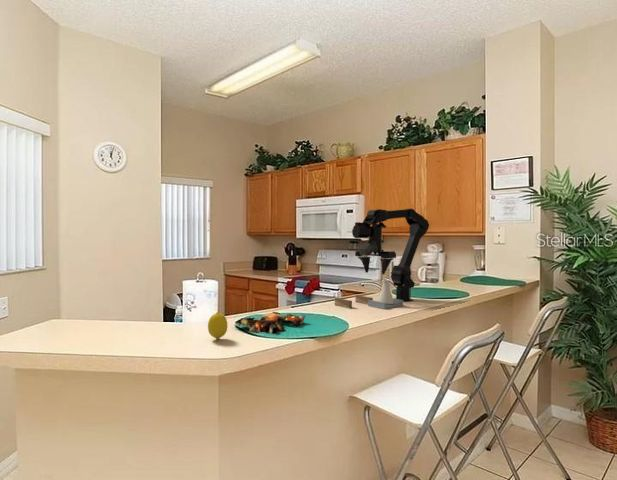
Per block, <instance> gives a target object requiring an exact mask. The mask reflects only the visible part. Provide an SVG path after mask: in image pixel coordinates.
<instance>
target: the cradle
mask: <svg viewBox="0 0 617 480" xmlns="http://www.w3.org/2000/svg"><path fill="white" fill-rule="evenodd" d="M392 298H393V297H392ZM393 300H394V304H389V305H386V303H384V302H379V301H378V300H368V305H367V306H368V307H372V308H376V309H382V310H388V309H393V308H400V307H404V301H403V300H400V299H394V298H393Z"/></svg>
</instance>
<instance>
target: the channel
mask: <svg viewBox="0 0 617 480" xmlns="http://www.w3.org/2000/svg"><path fill="white" fill-rule="evenodd" d="M373 299H374V297H370V296H366V295H365V296H364V295H360V294H356V295H355V299H354V300H355V303H358V304H363V305H367V306H368V300H373ZM334 306H337V307H341V308H346V309H350V310H351V309H353V300H351V299H350V300H349V299H346V298H345V299H344V298H339V297H334Z"/></svg>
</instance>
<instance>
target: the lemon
mask: <svg viewBox="0 0 617 480" xmlns="http://www.w3.org/2000/svg"><path fill="white" fill-rule="evenodd" d="M207 330H208V333H209V335H210V336H211V337H213V338H214V339H215V340H217V341H218V340H220V339H221V338H222V337H224V336H225V335H226V334H227V331H228V321H227V318H226V316H225V315H224V314H223V313H220V312H218V311H217V312H216V313H214V314H212V315H211V316H210V317H209V320H208V321H207Z"/></svg>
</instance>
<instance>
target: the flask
mask: <svg viewBox="0 0 617 480" xmlns="http://www.w3.org/2000/svg"><path fill="white" fill-rule="evenodd" d="M381 281H382V287H381V291H380V294H379V297H378V299H377V301H379V302H384V303H386V305H389V304H394V300H393V294H392V292H391V288H390V281H391V280H390V279H382V280H381Z"/></svg>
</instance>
